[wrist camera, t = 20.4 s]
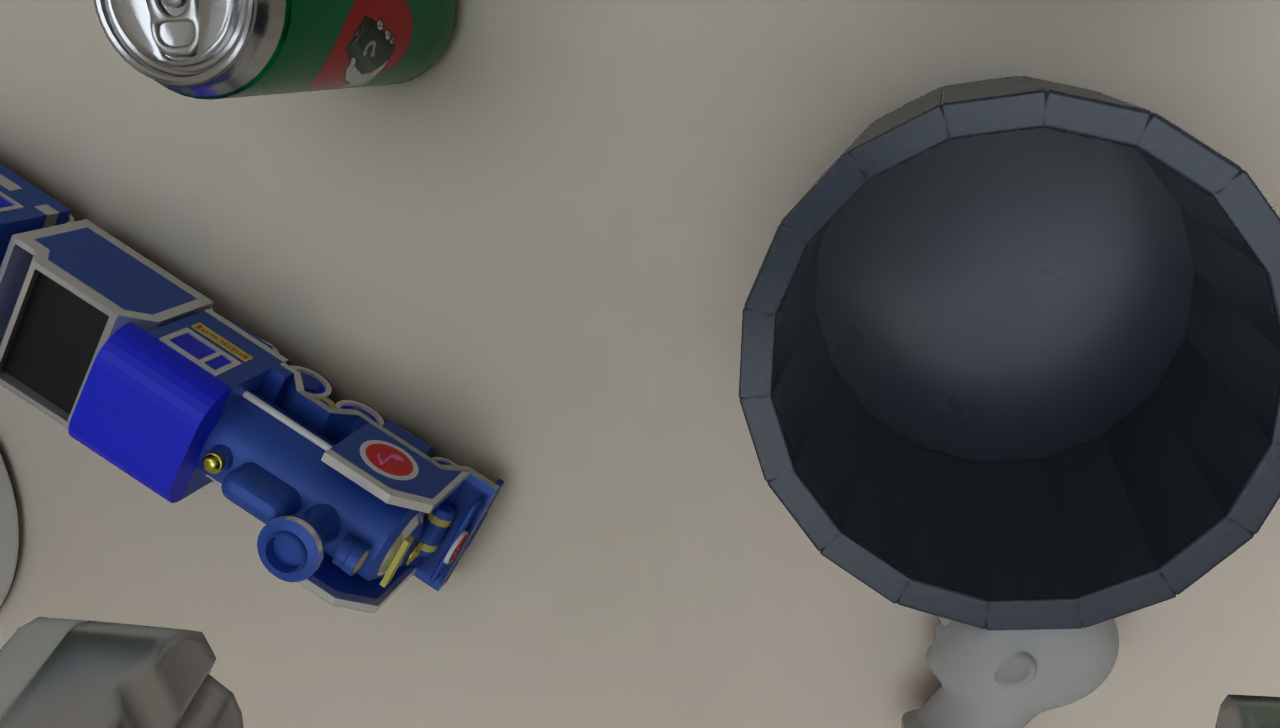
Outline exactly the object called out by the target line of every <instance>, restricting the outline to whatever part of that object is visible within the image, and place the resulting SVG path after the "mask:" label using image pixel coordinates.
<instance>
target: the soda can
mask: <svg viewBox="0 0 1280 728" xmlns="http://www.w3.org/2000/svg"><path fill="white" fill-rule="evenodd" d="M94 4H95V9H96V12H97V15H98V18H99V21H100V24H101V26H102V28H103V30H104V32H105V34H106V36H107V38H108V40H109V41H110V42H111V44H112V45H113V47H114V48H115V50H116V51H117V52H118V53H119V54H120V56H121V57H122V58H123V59H124V60H125V61H126V62H127V63H128V64H130V65H131V66H132V67H133V68H134V69H136V70H137V71H139V72H140V73H142V74H144V75H145V76H147V77H149V78H152V79H154V80H155V81H156V82H158V83H160V84H161V85H163V86H164V87H166V88H168V89H169V90H172V91H174V92H176V93H179V94H181V95H184V96H188V97H192V98H197V99H223V98H235V97H247V96H259V95H270V94H282V93H294V92H306V91H318V90H330V89H342V88H354V87H366V86H378V85H390V84H398V83H403V82H406V81H410V80H412V79H414V78H416V77H418V76H420V75H422V74H423V73H425V72H426V71H427V70H429V69H430V68H431V67H432V66H433V65H434V64H435V63H436V62H437V61H438V60H439V58H440V57H441V55H442V54H443V52H444V51H445V49H446V47H447V45H448V43H449V41H450V39H451V35H452V32H453V28H454V24H455V16H456V0H94Z"/></svg>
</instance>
